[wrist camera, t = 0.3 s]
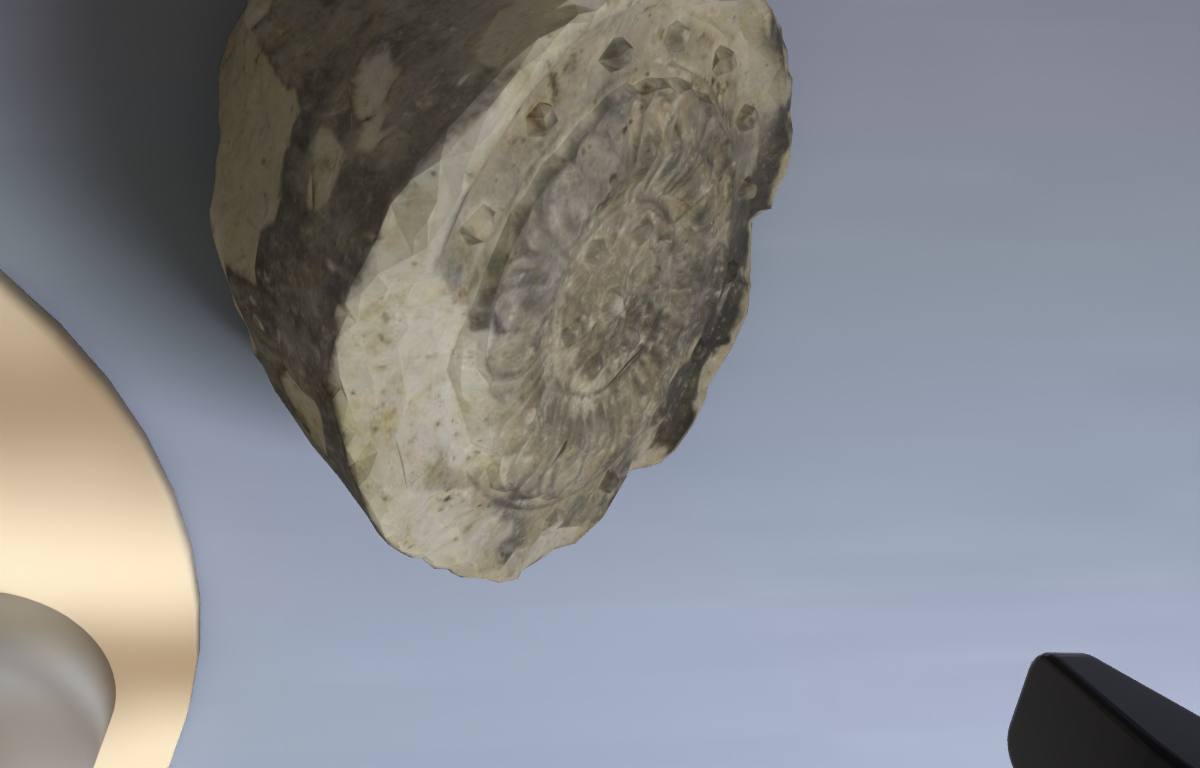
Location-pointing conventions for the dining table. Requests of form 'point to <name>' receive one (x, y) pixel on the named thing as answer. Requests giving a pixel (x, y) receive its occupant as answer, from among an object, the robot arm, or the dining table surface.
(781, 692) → the dining table surface
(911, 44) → the dining table surface
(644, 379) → the fossil
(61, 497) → the carrier plate
